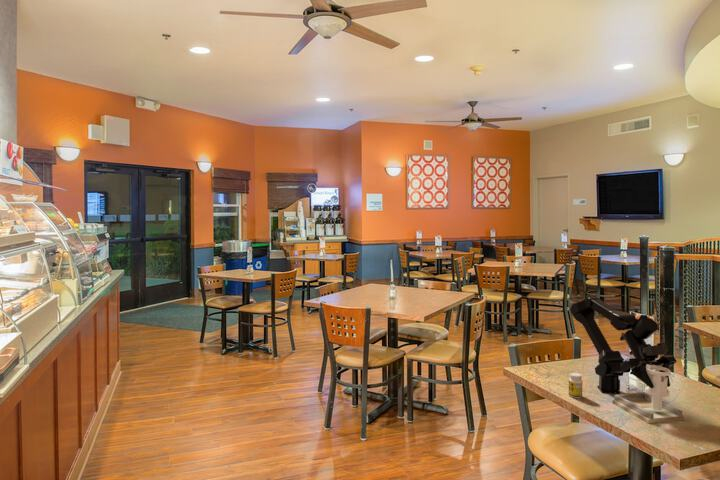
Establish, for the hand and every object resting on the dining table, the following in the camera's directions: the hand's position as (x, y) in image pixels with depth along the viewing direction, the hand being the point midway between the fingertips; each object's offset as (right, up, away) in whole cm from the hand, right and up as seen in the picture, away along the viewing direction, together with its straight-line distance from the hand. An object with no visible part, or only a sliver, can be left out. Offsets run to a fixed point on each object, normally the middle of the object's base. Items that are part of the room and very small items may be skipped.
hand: (660, 387), depth 166 cm
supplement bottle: (-20, -10, +20) cm, 30 cm away
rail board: (-1, -10, +6) cm, 12 cm away
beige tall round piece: (0, -8, +2) cm, 8 cm away
